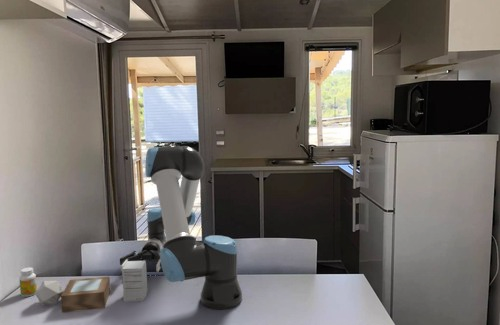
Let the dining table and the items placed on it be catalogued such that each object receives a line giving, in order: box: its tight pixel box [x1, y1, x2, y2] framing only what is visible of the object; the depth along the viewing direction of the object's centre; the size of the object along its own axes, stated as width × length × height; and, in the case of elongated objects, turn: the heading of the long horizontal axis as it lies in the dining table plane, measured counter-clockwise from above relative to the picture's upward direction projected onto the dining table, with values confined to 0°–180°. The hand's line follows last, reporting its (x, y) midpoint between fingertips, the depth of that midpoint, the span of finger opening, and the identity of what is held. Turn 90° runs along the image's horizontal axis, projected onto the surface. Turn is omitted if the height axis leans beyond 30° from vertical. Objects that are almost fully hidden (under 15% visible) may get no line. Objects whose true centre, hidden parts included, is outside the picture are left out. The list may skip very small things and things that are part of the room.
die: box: [34, 280, 65, 305], centre depth 140 cm, size 8×9×10 cm
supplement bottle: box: [18, 266, 38, 298], centre depth 147 cm, size 5×5×10 cm
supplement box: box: [121, 260, 148, 302], centre depth 144 cm, size 7×7×13 cm
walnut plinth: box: [60, 276, 111, 313], centre depth 141 cm, size 14×13×6 cm
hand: (139, 268), depth 152 cm, fingers open, 13 cm apart
